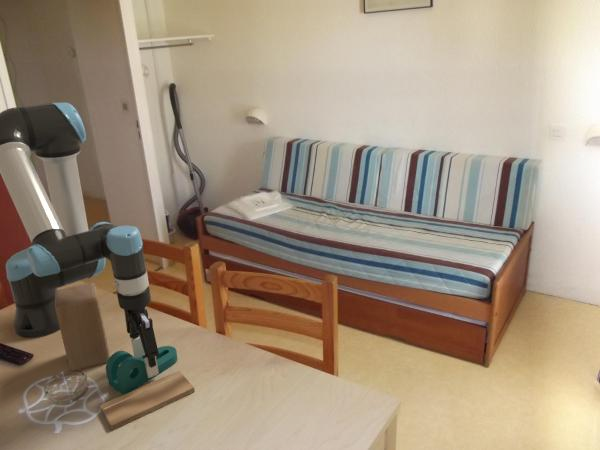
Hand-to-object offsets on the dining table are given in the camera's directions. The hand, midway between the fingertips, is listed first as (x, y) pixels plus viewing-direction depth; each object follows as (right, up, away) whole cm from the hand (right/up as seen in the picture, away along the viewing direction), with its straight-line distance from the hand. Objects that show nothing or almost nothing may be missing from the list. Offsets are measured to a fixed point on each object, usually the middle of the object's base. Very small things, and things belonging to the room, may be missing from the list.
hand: (146, 367), depth 133 cm
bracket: (0, -1, +1) cm, 2 cm away
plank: (+3, -5, -10) cm, 12 cm away
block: (-18, 0, +7) cm, 19 cm away
